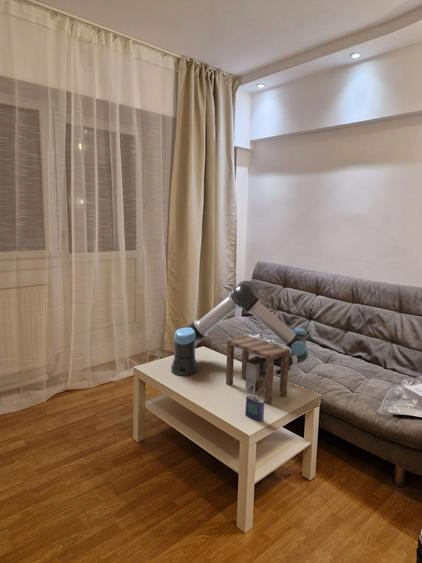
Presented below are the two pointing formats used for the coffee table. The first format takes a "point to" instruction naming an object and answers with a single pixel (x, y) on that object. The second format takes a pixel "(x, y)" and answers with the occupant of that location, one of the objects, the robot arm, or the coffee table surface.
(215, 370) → the coffee table surface
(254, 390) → the coffee box
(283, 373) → the wooden stool
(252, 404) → the flask
